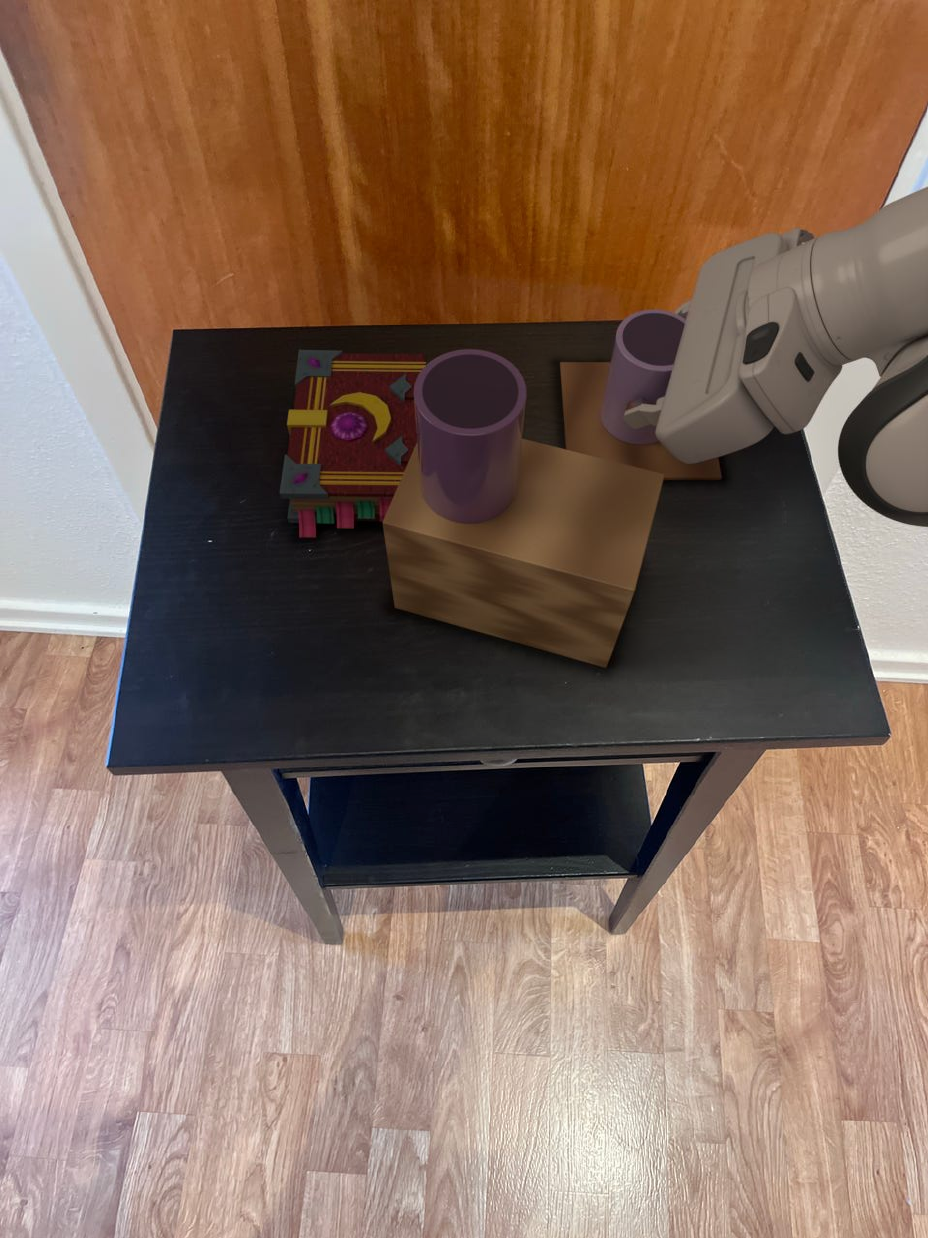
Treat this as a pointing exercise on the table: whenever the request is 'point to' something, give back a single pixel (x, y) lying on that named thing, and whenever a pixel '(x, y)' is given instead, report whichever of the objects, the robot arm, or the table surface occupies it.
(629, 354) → the lavender cup
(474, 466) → the plum cup
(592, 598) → the block
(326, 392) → the decorative book
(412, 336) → the table surface
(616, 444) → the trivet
